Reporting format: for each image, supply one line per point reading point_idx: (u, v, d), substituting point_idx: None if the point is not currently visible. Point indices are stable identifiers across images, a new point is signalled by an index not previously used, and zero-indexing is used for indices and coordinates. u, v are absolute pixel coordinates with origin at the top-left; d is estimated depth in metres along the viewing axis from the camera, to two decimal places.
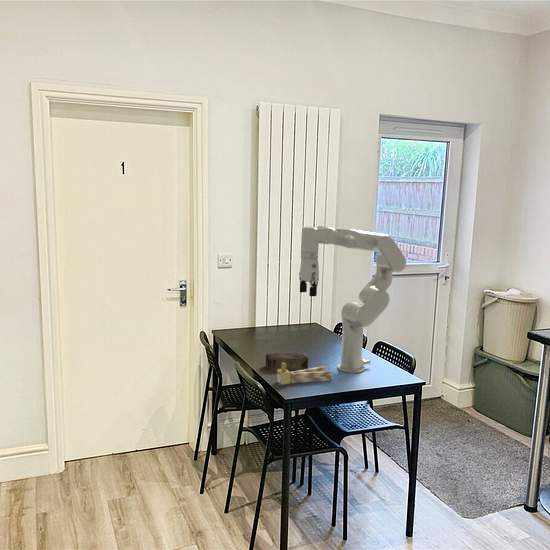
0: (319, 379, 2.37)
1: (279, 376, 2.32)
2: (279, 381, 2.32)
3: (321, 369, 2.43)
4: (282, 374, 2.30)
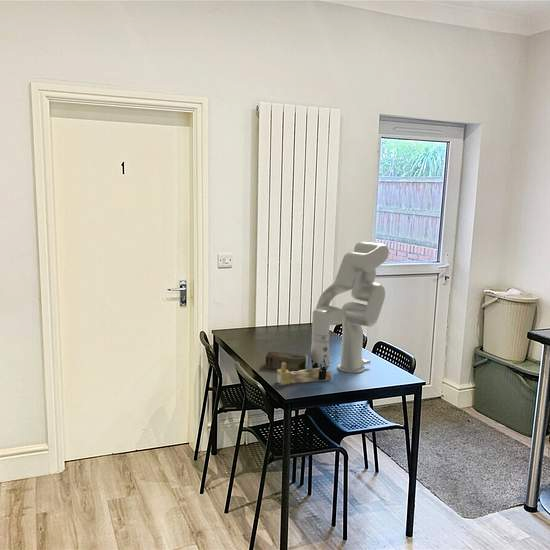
0: None
1: (279, 376, 2.32)
2: (279, 381, 2.32)
3: None
4: (282, 374, 2.30)
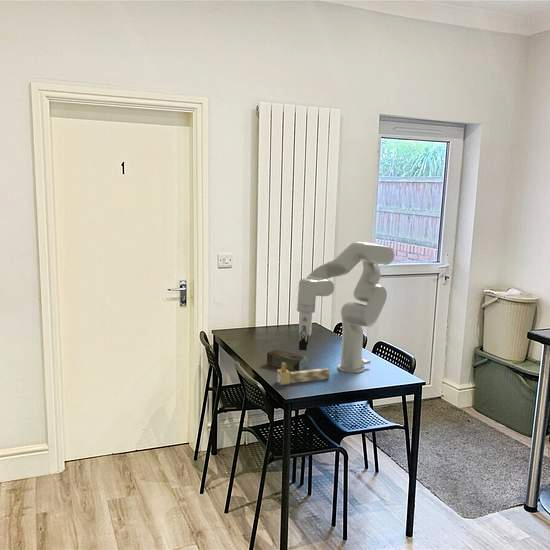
0: (317, 378, 2.38)
1: (279, 376, 2.32)
2: (279, 381, 2.32)
3: None
4: (282, 374, 2.30)
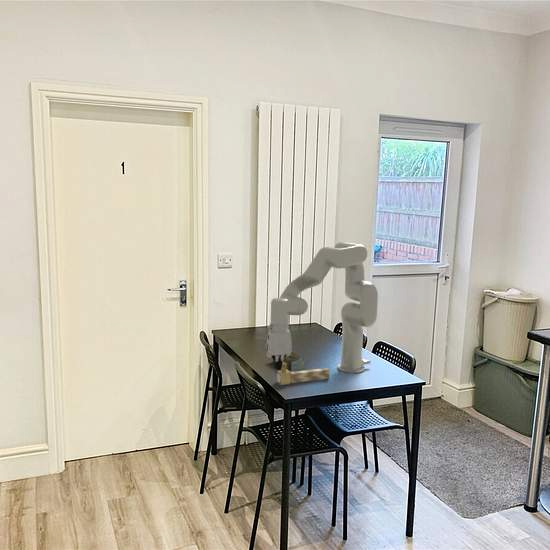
0: (317, 378, 2.38)
1: (279, 376, 2.32)
2: (279, 381, 2.32)
3: None
4: (282, 374, 2.30)
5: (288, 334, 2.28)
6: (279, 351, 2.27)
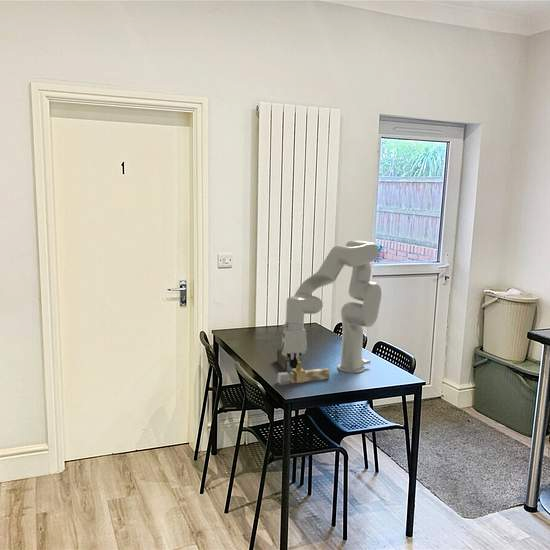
0: (317, 378, 2.38)
1: (279, 376, 2.32)
2: (279, 381, 2.32)
3: None
4: (297, 372, 2.33)
5: (303, 332, 2.31)
6: (294, 349, 2.30)
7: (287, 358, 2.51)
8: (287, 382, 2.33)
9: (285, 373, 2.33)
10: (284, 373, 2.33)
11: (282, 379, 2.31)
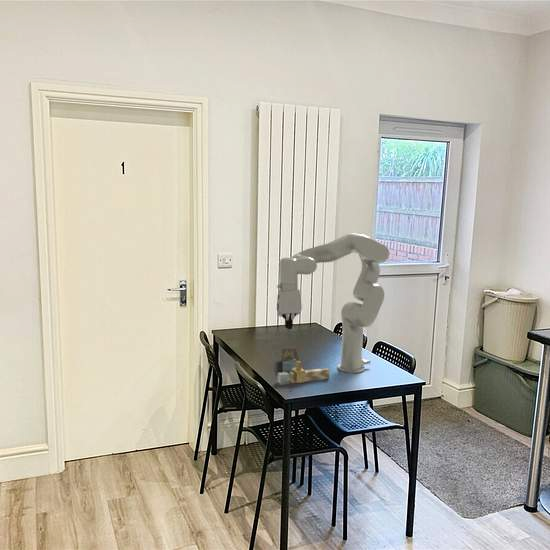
0: (317, 378, 2.38)
1: (279, 376, 2.32)
2: (279, 381, 2.32)
3: None
4: (297, 372, 2.33)
5: (297, 293, 2.32)
6: (289, 310, 2.32)
7: (285, 358, 2.51)
8: (287, 382, 2.33)
9: (285, 373, 2.33)
10: (284, 373, 2.33)
11: (282, 379, 2.31)
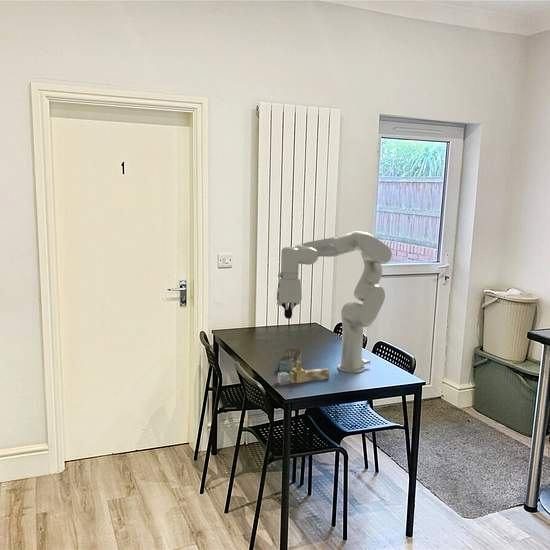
0: (317, 378, 2.38)
1: (279, 376, 2.32)
2: (279, 381, 2.32)
3: None
4: (297, 372, 2.33)
5: (298, 282, 2.33)
6: (289, 299, 2.32)
7: (284, 357, 2.52)
8: (287, 382, 2.33)
9: (285, 373, 2.33)
10: (284, 373, 2.33)
11: (282, 379, 2.31)
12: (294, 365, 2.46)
